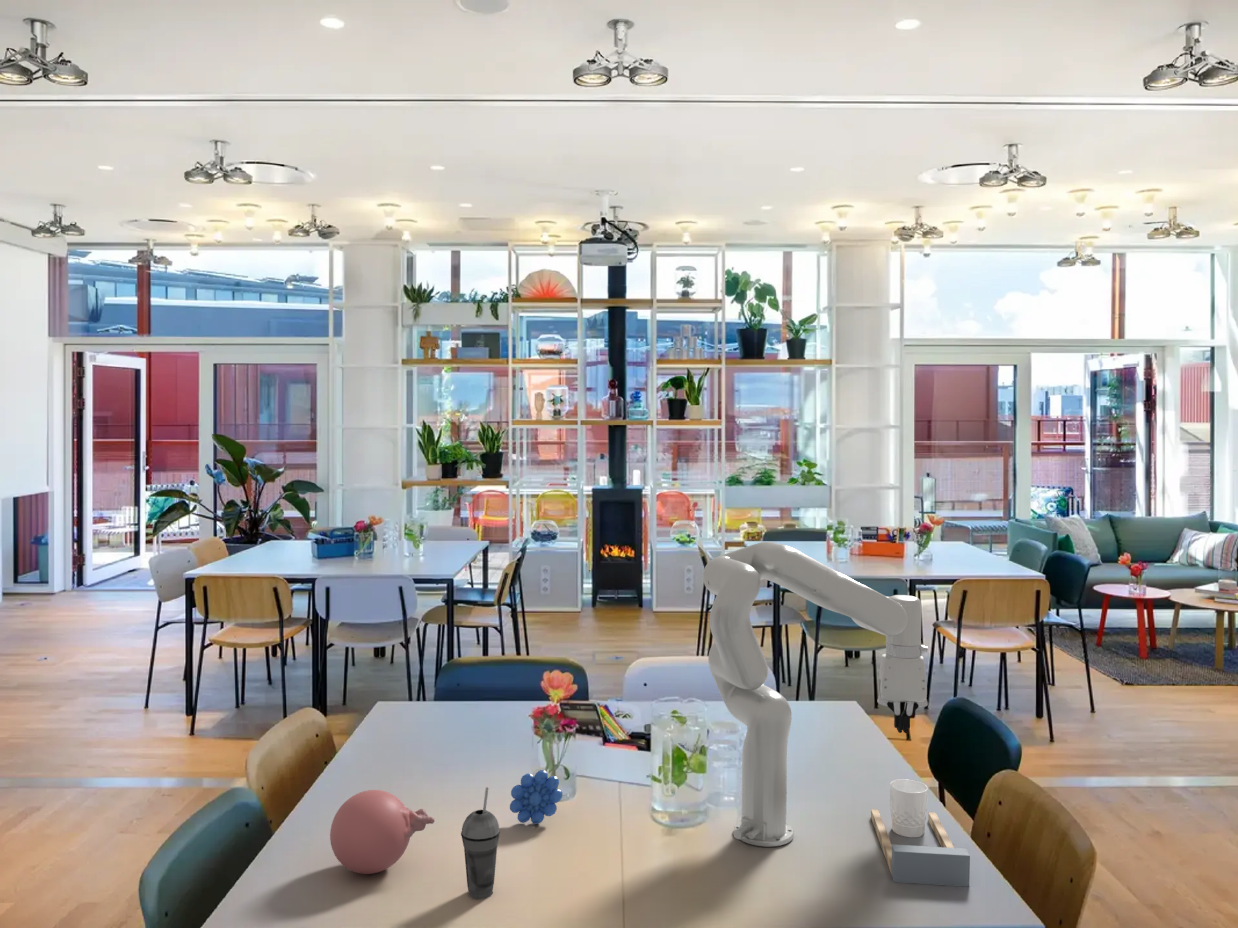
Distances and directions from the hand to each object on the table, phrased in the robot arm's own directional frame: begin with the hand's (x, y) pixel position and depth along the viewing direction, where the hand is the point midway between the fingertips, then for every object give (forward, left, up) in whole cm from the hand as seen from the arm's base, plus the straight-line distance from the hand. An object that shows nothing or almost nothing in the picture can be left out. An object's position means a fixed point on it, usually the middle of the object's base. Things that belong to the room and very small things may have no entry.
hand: (901, 730), depth 210 cm
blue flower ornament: (-54, +63, -19) cm, 85 cm away
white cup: (-8, -4, -19) cm, 21 cm away
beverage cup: (-84, +50, -19) cm, 99 cm away
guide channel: (-15, -8, -19) cm, 26 cm away
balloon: (-89, +72, -19) cm, 116 cm away
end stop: (-27, -16, -19) cm, 37 cm away
